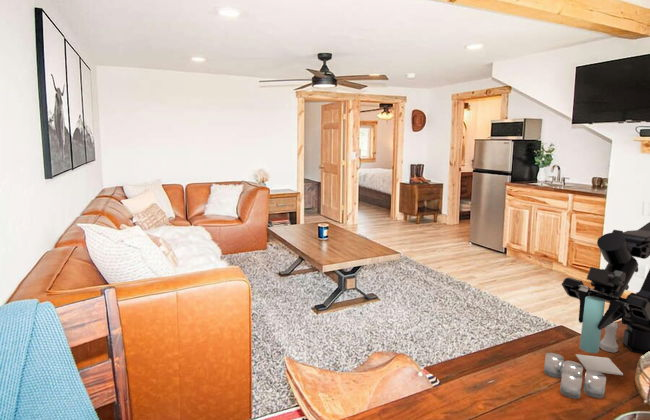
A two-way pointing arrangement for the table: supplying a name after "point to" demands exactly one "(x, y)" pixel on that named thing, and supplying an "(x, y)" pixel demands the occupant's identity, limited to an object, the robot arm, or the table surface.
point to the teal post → (591, 324)
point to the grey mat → (598, 364)
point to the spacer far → (571, 384)
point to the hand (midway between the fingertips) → (589, 325)
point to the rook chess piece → (610, 339)
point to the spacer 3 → (594, 384)
